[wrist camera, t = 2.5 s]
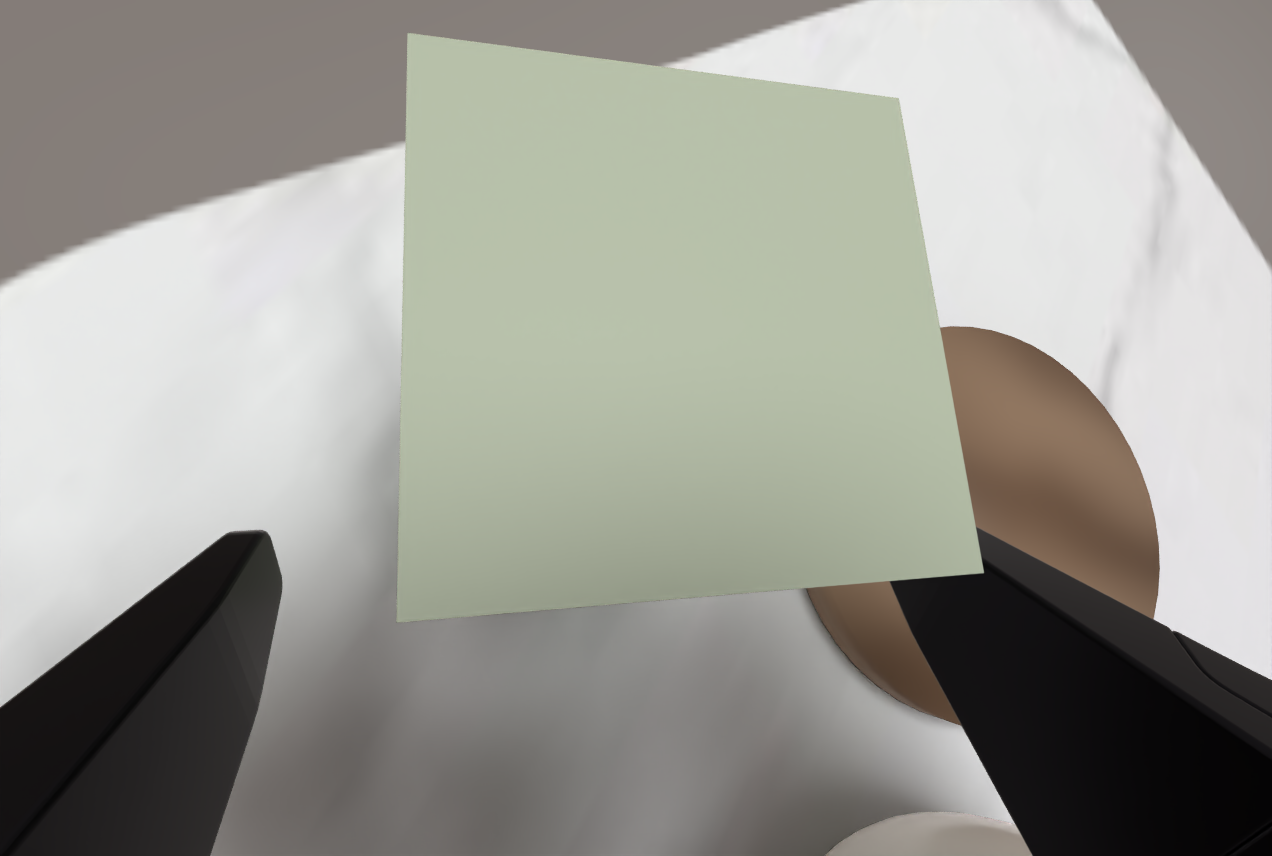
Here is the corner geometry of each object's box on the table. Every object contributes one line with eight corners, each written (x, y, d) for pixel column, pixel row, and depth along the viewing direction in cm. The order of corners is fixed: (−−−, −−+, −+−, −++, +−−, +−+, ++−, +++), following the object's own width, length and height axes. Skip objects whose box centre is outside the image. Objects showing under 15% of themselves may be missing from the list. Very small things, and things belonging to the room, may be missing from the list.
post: (644, 565, 18) (984, 573, 5) (470, 577, 17) (397, 621, 4) (633, 403, 19) (898, 97, 6) (469, 404, 18) (407, 32, 5)
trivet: (1129, 737, 20) (1178, 751, 19) (777, 705, 18) (802, 718, 16) (1102, 378, 23) (1142, 366, 22) (801, 308, 21) (823, 290, 19)
